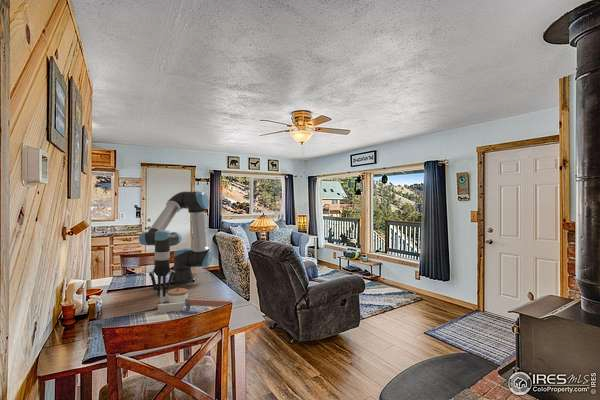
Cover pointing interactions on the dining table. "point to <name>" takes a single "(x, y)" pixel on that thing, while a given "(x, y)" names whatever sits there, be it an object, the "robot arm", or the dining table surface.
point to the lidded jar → (177, 295)
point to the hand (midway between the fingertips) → (161, 302)
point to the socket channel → (170, 306)
